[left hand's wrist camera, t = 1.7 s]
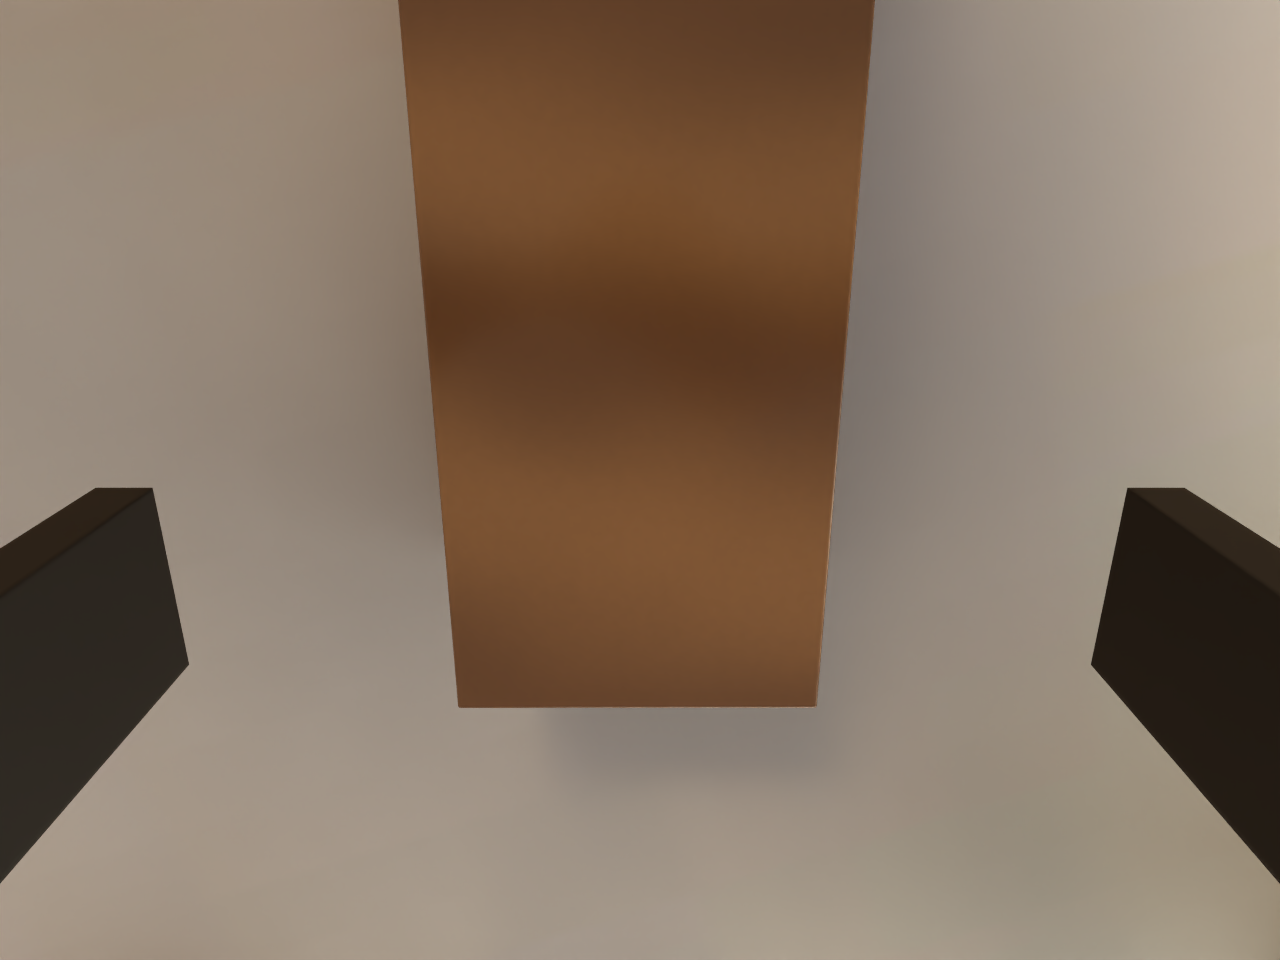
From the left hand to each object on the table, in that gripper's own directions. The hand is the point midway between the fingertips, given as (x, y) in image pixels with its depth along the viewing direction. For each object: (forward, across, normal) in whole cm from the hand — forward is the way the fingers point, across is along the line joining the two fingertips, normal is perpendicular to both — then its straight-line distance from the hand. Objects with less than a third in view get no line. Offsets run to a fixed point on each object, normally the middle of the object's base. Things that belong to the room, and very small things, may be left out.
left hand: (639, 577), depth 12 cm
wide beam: (+15, 0, -19) cm, 24 cm away
